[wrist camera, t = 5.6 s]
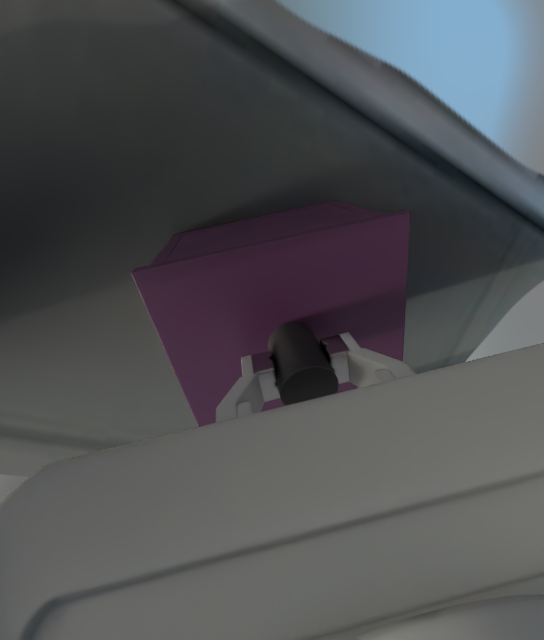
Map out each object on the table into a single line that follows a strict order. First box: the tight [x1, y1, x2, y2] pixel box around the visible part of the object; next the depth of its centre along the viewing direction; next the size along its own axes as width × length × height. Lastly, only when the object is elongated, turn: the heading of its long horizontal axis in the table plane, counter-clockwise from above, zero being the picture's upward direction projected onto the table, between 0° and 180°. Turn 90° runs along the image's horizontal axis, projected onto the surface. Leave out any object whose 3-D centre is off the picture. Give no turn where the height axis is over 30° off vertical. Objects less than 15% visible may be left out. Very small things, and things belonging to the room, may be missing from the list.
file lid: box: [131, 210, 411, 427], centre depth 14 cm, size 13×11×5 cm
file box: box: [150, 200, 383, 265], centre depth 20 cm, size 13×11×9 cm
